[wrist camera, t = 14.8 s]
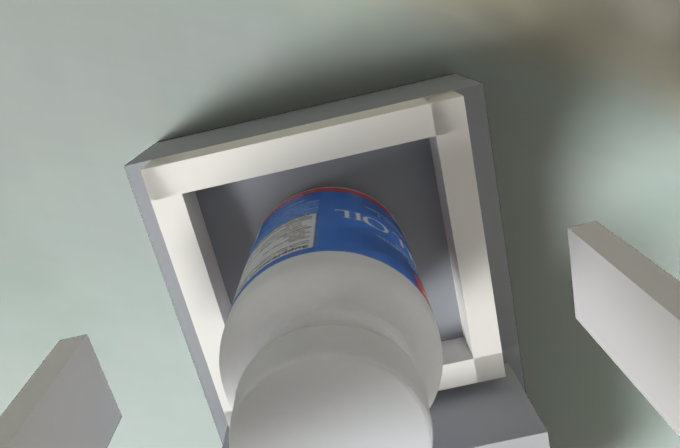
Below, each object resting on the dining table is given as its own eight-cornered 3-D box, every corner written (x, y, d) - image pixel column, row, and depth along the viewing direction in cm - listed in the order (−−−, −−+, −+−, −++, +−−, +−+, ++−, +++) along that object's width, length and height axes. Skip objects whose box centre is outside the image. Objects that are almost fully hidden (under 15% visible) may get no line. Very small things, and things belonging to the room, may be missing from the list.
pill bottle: (437, 265, 21) (529, 465, 11) (320, 350, 22) (318, 597, 12) (340, 147, 19) (356, 268, 10) (219, 245, 20) (132, 436, 11)
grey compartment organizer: (155, 142, 23) (75, 201, 15) (454, 73, 22) (525, 98, 15) (292, 554, 30) (284, 732, 22) (521, 507, 30) (591, 673, 22)
